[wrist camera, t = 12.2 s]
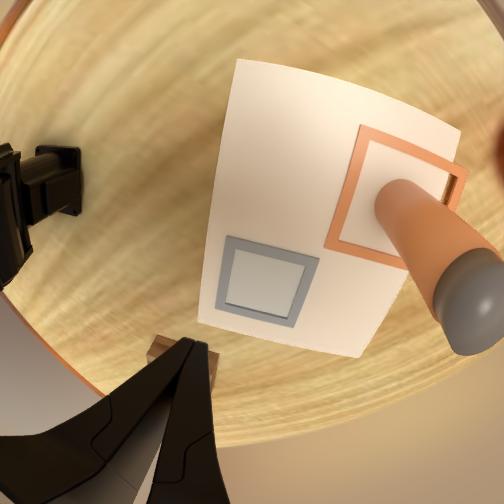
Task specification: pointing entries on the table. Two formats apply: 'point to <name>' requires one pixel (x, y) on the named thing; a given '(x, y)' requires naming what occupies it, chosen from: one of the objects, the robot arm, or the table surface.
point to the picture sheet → (313, 206)
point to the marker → (446, 265)
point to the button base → (164, 343)
